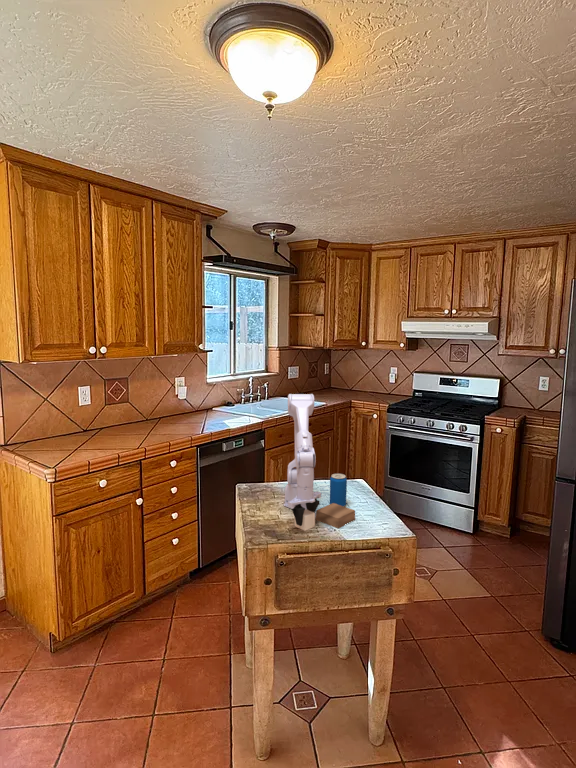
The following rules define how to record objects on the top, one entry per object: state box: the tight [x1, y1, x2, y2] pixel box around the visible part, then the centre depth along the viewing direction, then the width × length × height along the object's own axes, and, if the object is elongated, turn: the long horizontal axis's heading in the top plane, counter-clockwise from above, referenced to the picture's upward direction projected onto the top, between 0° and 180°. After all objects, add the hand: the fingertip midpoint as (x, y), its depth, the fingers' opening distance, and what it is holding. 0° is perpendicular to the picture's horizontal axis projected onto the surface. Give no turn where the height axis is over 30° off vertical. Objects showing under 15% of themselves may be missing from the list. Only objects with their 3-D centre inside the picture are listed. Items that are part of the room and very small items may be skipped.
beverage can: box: [329, 473, 348, 507], centre depth 176 cm, size 6×6×12 cm
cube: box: [294, 509, 316, 532], centre depth 158 cm, size 5×5×5 cm
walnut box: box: [315, 503, 356, 529], centre depth 163 cm, size 10×10×4 cm
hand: (304, 522), depth 158 cm, fingers closed on cube, 5 cm apart
